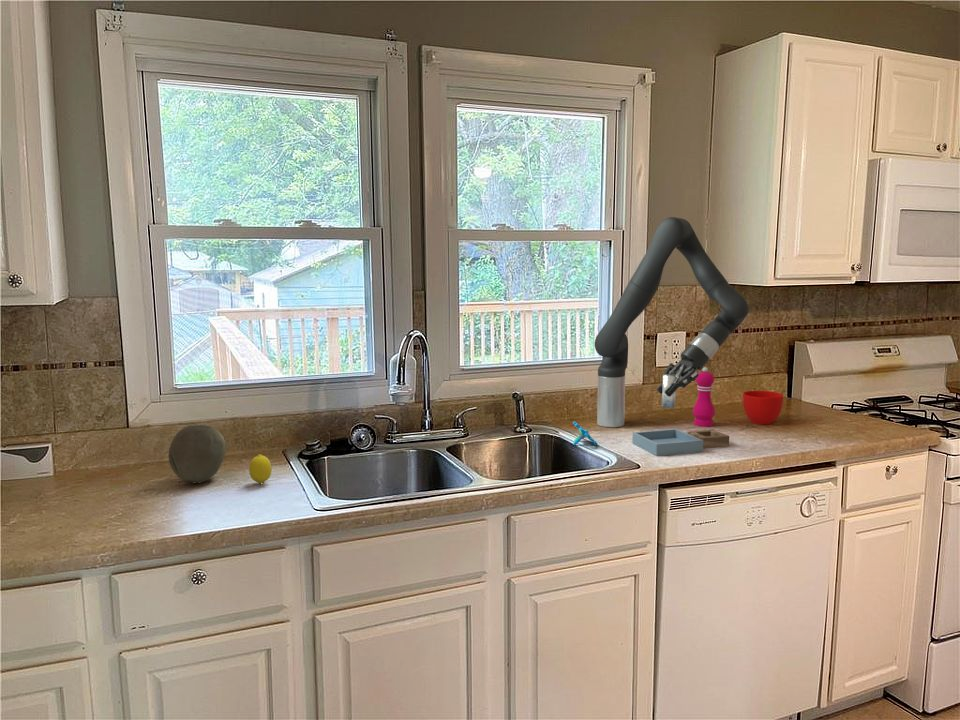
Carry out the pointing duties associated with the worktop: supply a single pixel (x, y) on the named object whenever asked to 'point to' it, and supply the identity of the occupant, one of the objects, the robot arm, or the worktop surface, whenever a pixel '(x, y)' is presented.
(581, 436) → the blue branched flat part
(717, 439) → the socket block
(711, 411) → the pepper mill
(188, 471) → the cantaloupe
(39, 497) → the worktop surface
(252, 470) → the lemon
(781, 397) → the ceramic cup
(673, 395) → the pin
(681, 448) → the parts tray
